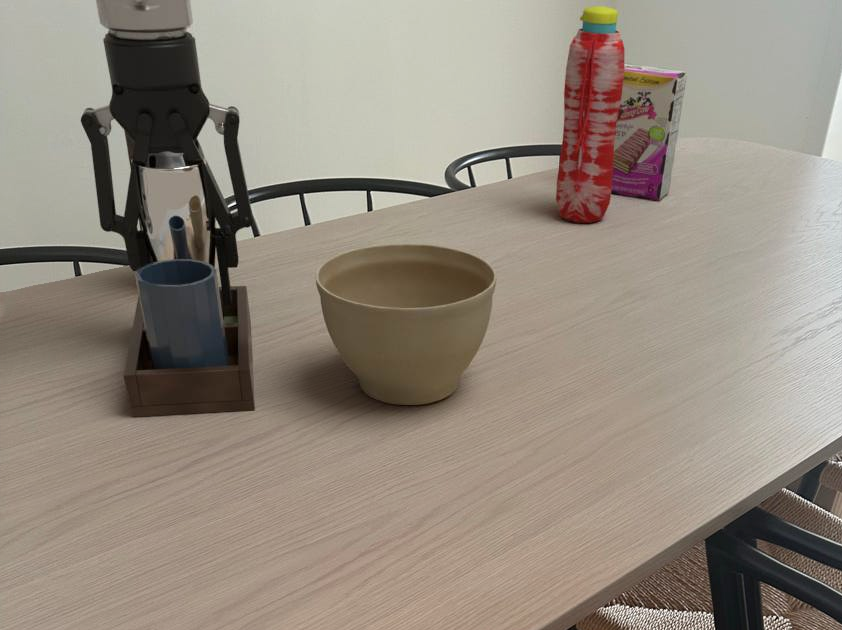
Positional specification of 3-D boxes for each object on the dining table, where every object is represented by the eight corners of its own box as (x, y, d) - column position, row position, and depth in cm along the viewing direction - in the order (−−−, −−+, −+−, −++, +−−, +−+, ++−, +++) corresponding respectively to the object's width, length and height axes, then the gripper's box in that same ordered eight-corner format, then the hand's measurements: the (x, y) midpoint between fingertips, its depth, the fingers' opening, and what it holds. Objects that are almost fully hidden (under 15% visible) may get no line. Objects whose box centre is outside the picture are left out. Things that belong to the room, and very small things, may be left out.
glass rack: (132, 417, 89) (123, 375, 86) (146, 327, 104) (139, 289, 101) (254, 410, 90) (249, 368, 88) (250, 322, 106) (246, 285, 103)
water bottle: (569, 199, 144) (586, -3, 128) (622, 207, 142) (646, 2, 126) (542, 222, 136) (557, 8, 120) (598, 231, 134) (621, 14, 118)
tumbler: (163, 400, 89) (143, 290, 83) (149, 370, 94) (129, 263, 87) (238, 388, 91) (223, 280, 85) (221, 359, 96) (206, 255, 90)
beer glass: (164, 337, 96) (135, 171, 86) (152, 311, 100) (123, 151, 91) (236, 328, 98) (215, 165, 88) (221, 303, 103) (199, 146, 93)
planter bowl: (327, 350, 101) (319, 241, 94) (485, 350, 102) (488, 243, 95) (319, 425, 89) (309, 306, 82) (498, 424, 90) (504, 306, 83)
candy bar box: (588, 191, 148) (600, 66, 138) (600, 182, 152) (612, 60, 141) (660, 202, 145) (678, 75, 134) (670, 194, 148) (688, 69, 138)
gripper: (19, 38, 79) (84, 320, 93) (266, 39, 82) (291, 311, 97) (33, 23, 84) (92, 291, 99) (263, 24, 88) (288, 283, 102)
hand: (190, 300), depth 98 cm, fingers closed on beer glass, 6 cm apart
